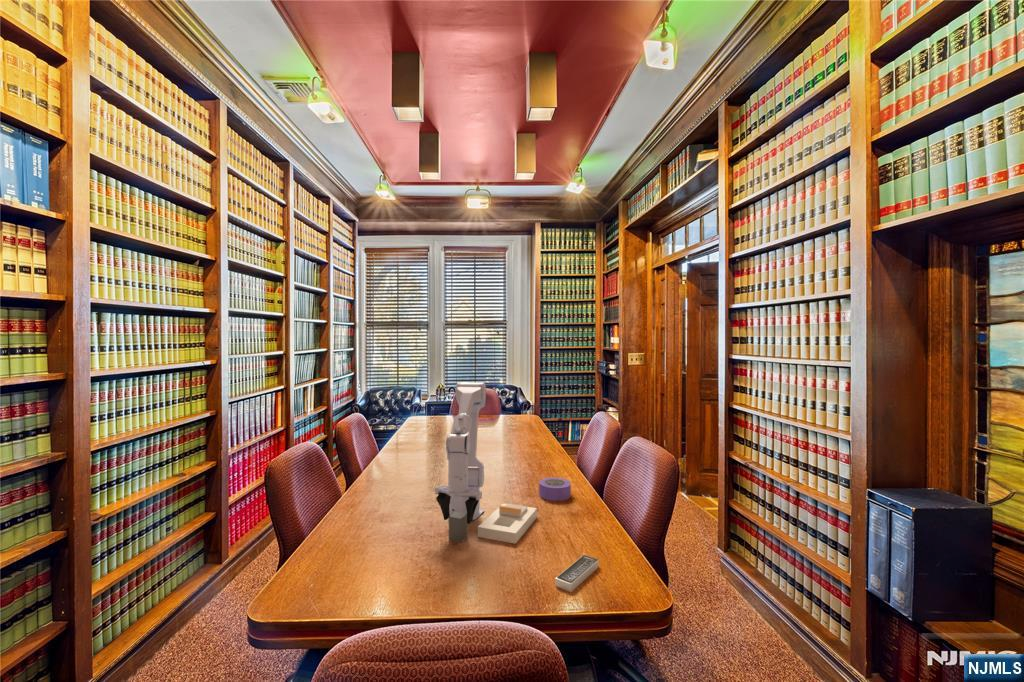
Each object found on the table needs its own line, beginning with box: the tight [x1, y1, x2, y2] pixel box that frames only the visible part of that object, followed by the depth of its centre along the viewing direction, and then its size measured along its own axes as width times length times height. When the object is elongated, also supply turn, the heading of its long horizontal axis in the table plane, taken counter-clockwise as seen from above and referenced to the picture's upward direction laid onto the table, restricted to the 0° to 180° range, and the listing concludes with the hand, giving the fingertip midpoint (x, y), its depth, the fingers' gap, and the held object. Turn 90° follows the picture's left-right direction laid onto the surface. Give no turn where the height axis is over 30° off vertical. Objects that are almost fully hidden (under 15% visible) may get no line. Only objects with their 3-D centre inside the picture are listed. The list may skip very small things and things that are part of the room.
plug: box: [448, 512, 468, 544], centre depth 132 cm, size 4×4×7 cm
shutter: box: [498, 503, 528, 518], centre depth 144 cm, size 7×7×3 cm
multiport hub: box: [555, 554, 599, 593], centre depth 112 cm, size 4×14×2 cm, turn 143°
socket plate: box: [477, 503, 538, 544], centre depth 141 cm, size 12×20×3 cm, turn 159°
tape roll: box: [538, 477, 572, 502], centre depth 168 cm, size 12×12×5 cm
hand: (458, 520), depth 132 cm, fingers open, 7 cm apart
